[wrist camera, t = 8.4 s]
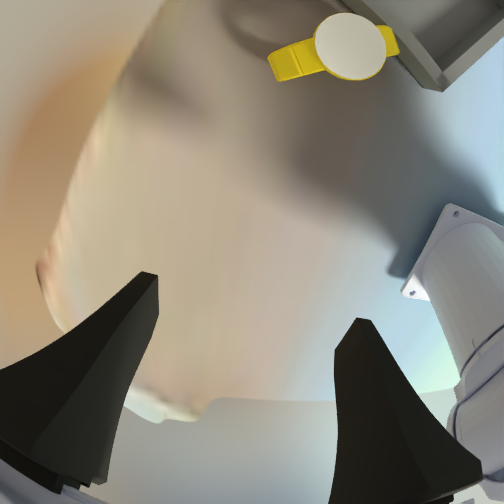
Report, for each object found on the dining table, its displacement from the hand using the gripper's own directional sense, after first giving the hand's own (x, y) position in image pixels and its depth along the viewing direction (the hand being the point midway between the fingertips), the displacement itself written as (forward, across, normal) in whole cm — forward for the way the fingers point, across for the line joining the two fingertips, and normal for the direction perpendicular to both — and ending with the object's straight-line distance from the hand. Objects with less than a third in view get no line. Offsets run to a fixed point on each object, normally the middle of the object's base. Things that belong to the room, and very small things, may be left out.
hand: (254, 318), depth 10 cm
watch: (+10, -1, -10) cm, 14 cm away
